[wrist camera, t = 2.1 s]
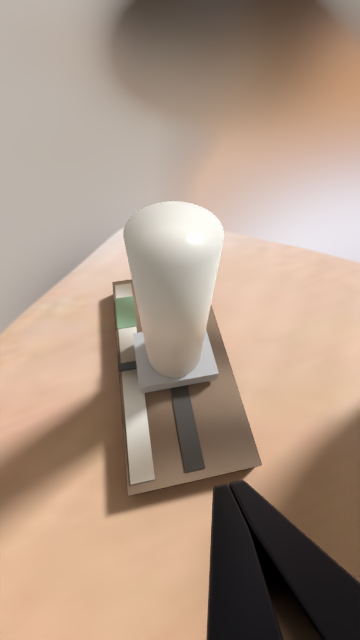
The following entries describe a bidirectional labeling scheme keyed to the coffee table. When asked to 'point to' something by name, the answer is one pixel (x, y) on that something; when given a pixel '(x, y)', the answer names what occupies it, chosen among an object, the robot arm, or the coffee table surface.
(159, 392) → the board
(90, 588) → the coffee table surface
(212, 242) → the tuning slider
